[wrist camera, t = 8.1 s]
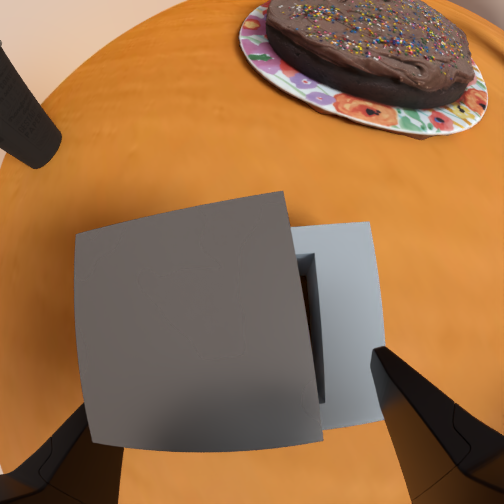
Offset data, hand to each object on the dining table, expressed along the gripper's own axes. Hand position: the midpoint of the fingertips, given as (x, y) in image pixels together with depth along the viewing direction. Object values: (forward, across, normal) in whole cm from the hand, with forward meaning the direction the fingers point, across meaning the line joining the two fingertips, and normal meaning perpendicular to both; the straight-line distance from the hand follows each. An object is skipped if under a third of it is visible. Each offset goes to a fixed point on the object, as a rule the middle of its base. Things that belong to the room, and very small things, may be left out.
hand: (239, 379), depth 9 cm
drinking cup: (+20, +19, -10) cm, 30 cm away
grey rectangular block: (+7, 0, +4) cm, 8 cm away
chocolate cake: (+25, -16, -14) cm, 33 cm away
